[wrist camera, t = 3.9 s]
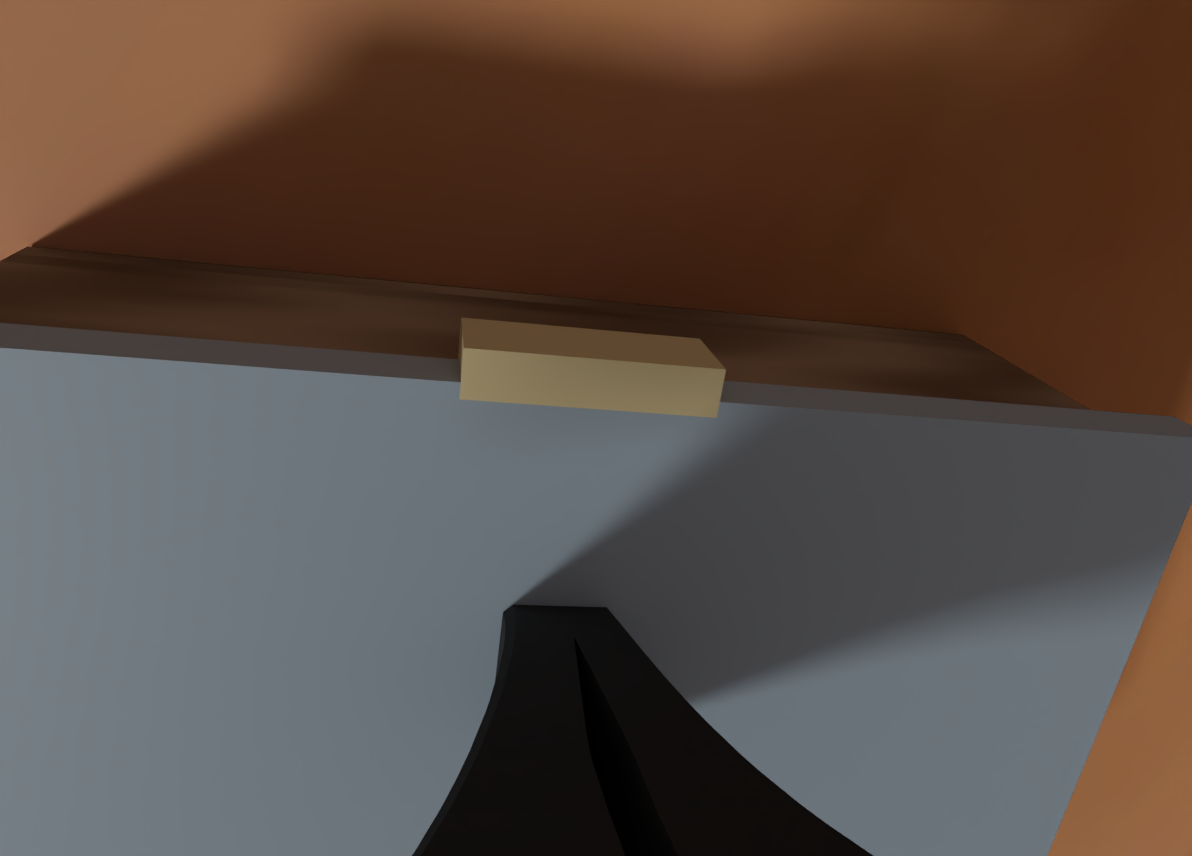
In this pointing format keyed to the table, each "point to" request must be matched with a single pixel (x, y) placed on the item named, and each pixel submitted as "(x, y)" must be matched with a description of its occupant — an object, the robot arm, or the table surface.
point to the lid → (543, 581)
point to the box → (433, 318)
